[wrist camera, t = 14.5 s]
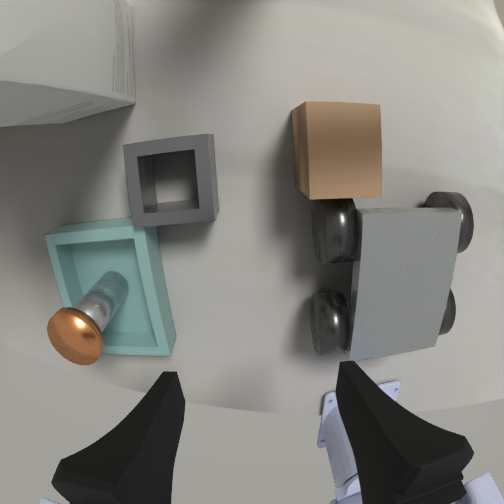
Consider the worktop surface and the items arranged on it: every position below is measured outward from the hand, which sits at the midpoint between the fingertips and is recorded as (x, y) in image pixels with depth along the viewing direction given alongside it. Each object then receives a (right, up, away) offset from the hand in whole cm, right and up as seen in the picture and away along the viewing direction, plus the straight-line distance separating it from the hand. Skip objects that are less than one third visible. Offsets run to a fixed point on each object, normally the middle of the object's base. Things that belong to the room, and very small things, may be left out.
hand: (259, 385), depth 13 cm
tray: (-11, +3, +10) cm, 15 cm away
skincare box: (-11, +19, +4) cm, 22 cm away
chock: (+4, +13, +7) cm, 15 cm away
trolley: (+9, +5, +9) cm, 14 cm away
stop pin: (-11, +3, +9) cm, 14 cm away
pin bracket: (-5, +11, +7) cm, 14 cm away
